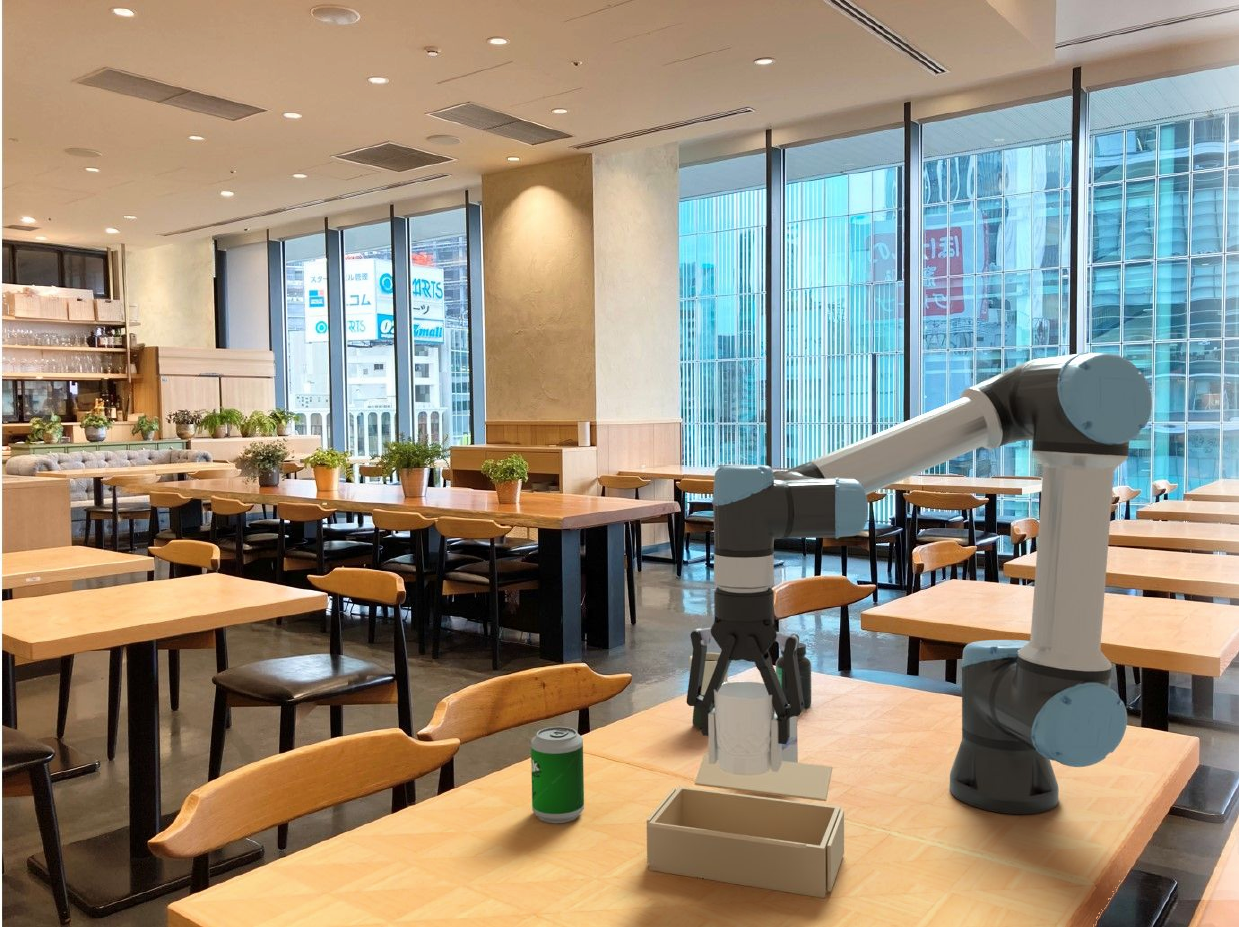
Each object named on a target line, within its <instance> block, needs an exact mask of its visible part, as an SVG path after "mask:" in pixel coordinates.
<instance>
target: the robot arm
mask: <svg viewBox="0 0 1239 927" xmlns="http://www.w3.org/2000/svg"><path fill="white" fill-rule="evenodd" d="M1152 397H1153V396H1152V393H1151V389H1150V386H1149V384H1148V381H1147V379H1146V377H1145V376H1144V374H1143V373H1142V372H1141V371H1139V369H1138V368H1137V367H1136V365H1135V364H1134V363H1133V362H1131V361H1130V360H1128V359H1127V358H1125V357H1123V356H1120V355H1117V354H1113V353H1105V352H1101V353H1100V352H1093V351H1092V352H1080V353H1075V354H1067V355H1061V356H1059V355H1058V356H1052V357H1049V356H1047V357H1039V358H1034V359H1032V360H1028V361H1025V362H1022V363H1020V364H1018V365H1016V366H1014V367H1011V368H1008V369H1007V370H1004V371H1003V372H1000V373H998V374H996V375H995V376H992V377H990V378H988V379H986V380H983V381H981V382H979V383H977V384H975V385H972V386H970V387H967V388H965V389H964V390H963V391H962V392H961V395H960V398H959V399H957V400H955V401H952V402H949V403H947V404H945V405H943V406H940V407H937V408H935V409H931V410H930V411H928V412H926V413H923V414H921V415H918V416H915V417H913V418H911V419H908V420H906V421H904V422H902V423H899V424H897V425H893V426H891V427H890V428H888V429H884V430H882V431H880V432H877V433H875V434H872V435H870V436H867V437H865V438H863V439H860V440H858V441H855V442H853V443H851V444H848V445H845V446H843V447H842V448H838V449H837V450H836V449H835V450H834V451H832V452H829V453H827V454H823V455H821V456H819V457H817V458H814V459H812V460H810V461H808V462H805V463H802V464H800V465H798V466H795V467H792V468H790V469H787V470H785V471H784V470H775V471H774V470H773V468H772V467H771V466H769V465H766V464H763V465H762V464H731V465H722V466H720V467H718V468H717V470H716V471H715V472H714V477H713V479H714V480H713V496H712V500H711V501H712V502H711V504H712V506H713V507H712V510H713V512H712V513H713V537H714V538H713V541H714V542H713V543H714V546H713V548H714V550H713V551H714V553H713V583H714V584H715V585H716V586H717V587H716V589H715V590H714V591H713V594H714V595H713V597H714V598H713V599H714V600H713V601H714V603H713V606H714V611H713V612H714V621H713V624H712V625H711V627H707V628H703V627H701V626H700V627H696V628H695V629H694V630H692V632H690V640H691V646H692V662H691V670H690V669H689V678H688V686H687V694H686V704H687V705H688V706H689V707H693V708H694V707H696V708H698V709H699V710H700V712H701V728H700V732H701V734H702V737H703V736H704V737H708V753H709V764H715V763H716V762H717V761H718V759H719V755H718V746H717V737H716V724H715V708H713V705H714V689H715V690H716V691H717V692H718V691H719V689H720V687H721V685H722V683H723V680H724V678H725V675H726V673H727V670H728V668H729V667H730V666H731V663H732V661H742V660H743V661H745V662H750V663H754V664H755V667H756V669H757V670H758V671H759V674H760V676H761V679H762V683H763V684H765V687H766V689H767V692H768V694H769V695H772V704H773V707H774V709H775V712H776V714H775V717H774V718H772V720H771V765H772V771H775V772H778V770H779V768H780V767H781V765H782V744H787V742H788V740H789V738H790V717H793V716H797V717H799V716H800V715H801V714H802V713H803V711H804V710H805V709H804V700H803V693H802V686H801V679H800V673H799V666H798V659H797V647H798V643H800V642H799V641H800V636H799V635H798V634H797V633H791V634H789V633H784V632H780V631H779V630H778V628H777V626H776V624H775V591H774V590H773V589H772V587H771V586H772V585H773V584H774V581H775V580H774V579H775V578H774V577H775V574H774V573H775V572H774V570H775V569H774V568H775V566H774V553H775V547H774V542H775V540H786V539H813V538H815V539H819V538H820V539H822V538H824V539H825V538H827V539H828V538H835V539H836V540H837V539H839V538H844V537H845V538H846V537H854V536H857V535H859V534H861V533H862V532H863V530H864V529H865V527H866V524H867V521H868V515H869V513H868V512H869V504H868V497H867V495H869V494H872V493H874V492H877V491H879V490H881V489H884V488H886V487H889V486H892V485H894V484H895V483H897V482H900V481H903V480H906V479H908V478H910V477H912V476H915V475H917V474H920V473H922V472H925V471H927V470H930V469H931V468H934V467H936V466H939V465H941V464H943V463H946V462H948V461H951V460H953V459H956V458H958V457H961V456H962V455H965V454H967V453H969V452H972V451H975V450H977V449H980V448H984V449H986V450H995V449H997V448H1000V447H1002V446H1005V445H1009V444H1012V443H1017V442H1021V441H1022V442H1023V441H1032V448H1031V449H1032V451H1031V452H1032V453H1031V454H1033V456H1034V457H1035V458H1036V459H1037V460H1038V461H1039V462H1040V464H1041V465H1042V479H1041V480H1042V482H1041V494H1040V505H1039V506H1040V508H1039V519H1038V520H1039V521H1038V533H1037V547H1036V548H1037V549H1036V560H1035V561H1036V562H1035V575H1034V585H1033V586H1034V588H1033V599H1032V600H1033V601H1032V602H1033V603H1032V611H1031V612H1032V613H1031V614H1032V615H1031V626H1030V627H1031V628H1030V629H1031V630H1030V640H1023V639H1022V640H1021V639H989V640H979V641H973V642H969V643H967V644H966V645H965V647H964V648H963V651H962V657H961V658H962V659H961V665H960V670H961V730H962V731H961V742H960V744H959V747H958V750H957V753H956V755H955V759H954V761H953V764H952V766H951V769H950V771H949V772H950V773H949V791H950V793H951V794H952V795H953V797H955V798H956V799H957V800H959V801H960V802H963V803H965V804H967V805H969V806H972V807H974V808H977V809H980V810H981V809H982V810H985V811H990V812H995V813H1002V814H1010V815H1031V814H1040V813H1044V812H1045V813H1046V812H1048V811H1051V810H1053V809H1054V808H1056V806H1058V803H1059V784H1058V781H1057V778H1056V774H1055V772H1054V769H1053V766H1052V762H1053V761H1055V762H1057V763H1060V764H1062V765H1064V766H1067V767H1070V768H1083V767H1089V766H1093V765H1095V764H1098V763H1100V762H1102V761H1104V760H1105V759H1106V757H1107V756H1108V755H1109V754H1110V753H1113V752H1115V751H1116V749H1117V748H1118V747H1119V745H1120V744H1121V742H1122V740H1123V738H1124V736H1125V733H1126V729H1127V724H1128V713H1127V709H1126V706H1125V703H1124V701H1123V700H1122V699H1121V698H1120V696H1119V694H1118V693H1117V692H1116V691H1115V690H1114V689H1112V688H1111V684H1112V683H1111V680H1112V667H1113V666H1112V662H1110V660H1109V659H1108V657H1106V656H1105V654H1104V653H1103V652H1102V650H1101V646H1102V645H1101V644H1102V643H1101V642H1102V629H1103V619H1104V618H1103V617H1104V607H1105V606H1104V604H1105V594H1106V593H1105V590H1106V582H1107V581H1106V578H1107V577H1106V576H1107V569H1108V568H1107V567H1108V566H1107V565H1108V553H1109V552H1108V551H1109V539H1110V528H1111V527H1110V526H1111V513H1112V512H1111V511H1112V502H1113V500H1112V499H1113V487H1114V475H1115V474H1114V473H1115V471H1116V469H1117V468H1118V467H1119V466H1121V465H1122V464H1123V463H1124V462H1126V461H1127V460H1128V458H1129V447H1130V441H1131V440H1133V439H1134V438H1136V437H1137V436H1138V435H1139V434H1140V433H1141V430H1143V429H1144V428H1146V426H1147V424H1148V423H1149V420H1150V417H1151V414H1152V409H1153V398H1152ZM711 638H713V640H714V641H715V642H716V644H717V645H718V648H720V649H721V651H720V656H719V658H718V661H717V665H716V667H715V670H714V672H713V675H712V677H711V680H710V683H709V685H708V688H707V690H706V693H705V695H704V697H703V696H701V691H702V683H703V675H704V668H705V660H706V653H708V652H707V650H708V645H709V644H710V642H711ZM775 642H777V643H778V646H779V650H780V652H781V651H783V652H784V665H785V672H786V679H787V686H788V692H789V699H790V705H788V702H787V700H786V697H785V695H784V692H783V690H782V687H781V685H780V682H779V680H778V677H777V675H776V668H775V667H774V664H773V659H772V657H771V655H770V652H769V649H770V648H771V647H772V645H773V644H774V643H775ZM1051 761H1052V762H1051Z"/></svg>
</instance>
